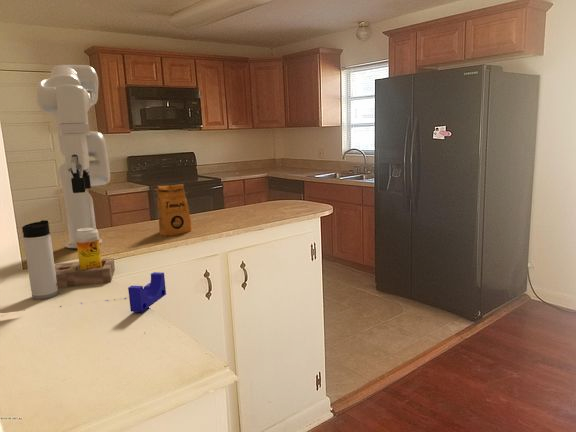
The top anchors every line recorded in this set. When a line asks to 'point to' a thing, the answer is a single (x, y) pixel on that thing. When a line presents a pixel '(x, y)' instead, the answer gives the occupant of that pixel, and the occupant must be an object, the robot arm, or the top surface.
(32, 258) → the travel mug
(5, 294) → the top surface
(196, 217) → the top surface
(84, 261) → the beer can
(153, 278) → the cable clip
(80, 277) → the brown wooden slotted block
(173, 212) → the coffee package
